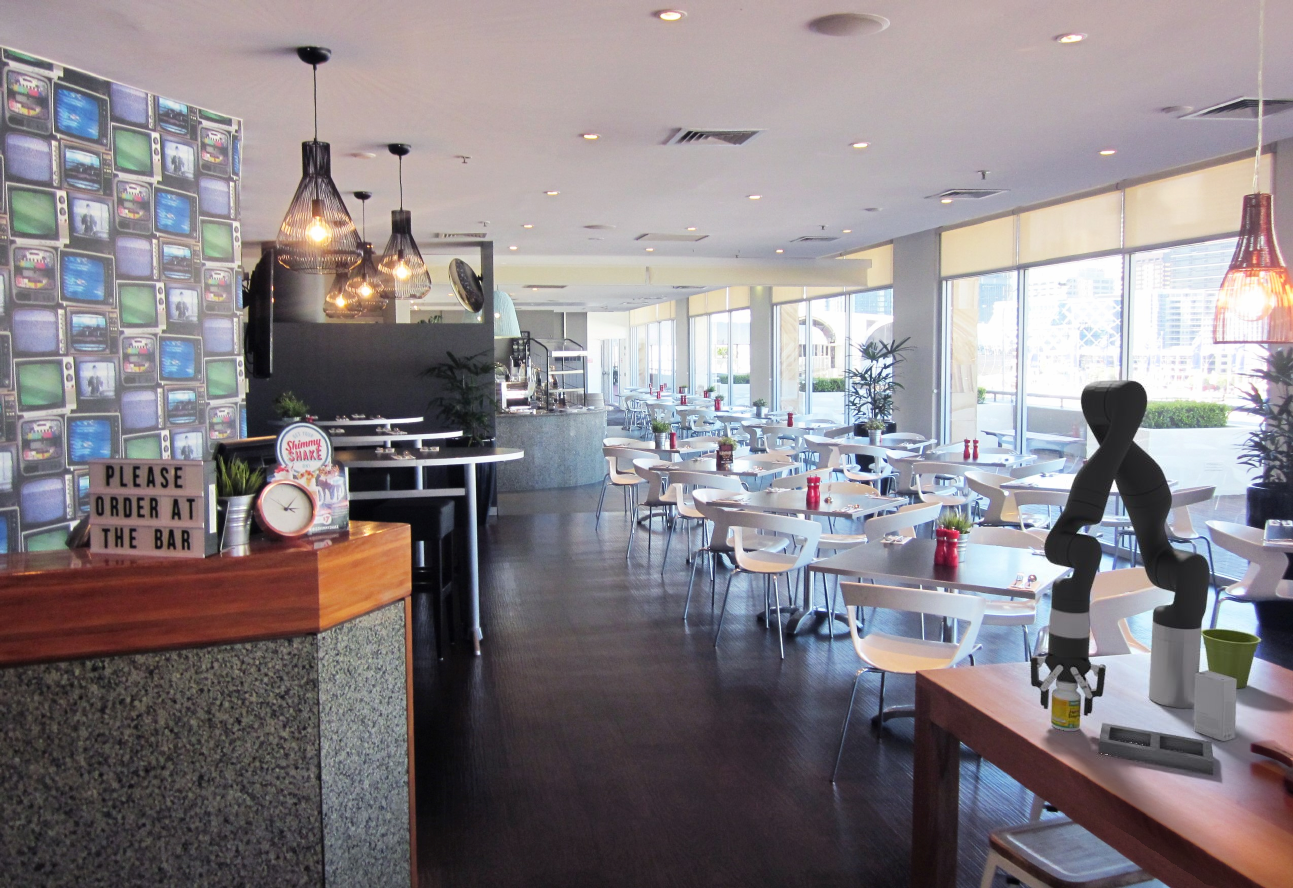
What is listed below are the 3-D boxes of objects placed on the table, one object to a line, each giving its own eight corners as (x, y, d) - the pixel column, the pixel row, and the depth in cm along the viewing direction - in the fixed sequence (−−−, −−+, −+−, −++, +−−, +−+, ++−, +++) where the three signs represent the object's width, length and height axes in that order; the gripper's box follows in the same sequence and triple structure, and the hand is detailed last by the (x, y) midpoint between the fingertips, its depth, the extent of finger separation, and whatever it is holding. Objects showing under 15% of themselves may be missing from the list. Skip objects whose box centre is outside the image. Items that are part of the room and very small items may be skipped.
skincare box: (1236, 738, 183) (1239, 678, 182) (1221, 742, 181) (1225, 681, 180) (1205, 727, 188) (1208, 668, 187) (1191, 731, 186) (1194, 672, 185)
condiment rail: (1101, 734, 184) (1102, 722, 184) (1210, 754, 175) (1211, 741, 175) (1098, 753, 176) (1098, 740, 176) (1212, 774, 167) (1213, 761, 167)
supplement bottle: (1060, 719, 192) (1062, 674, 191) (1085, 728, 188) (1087, 681, 187) (1045, 725, 189) (1047, 679, 188) (1069, 734, 185) (1071, 687, 184)
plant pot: (1262, 682, 215) (1265, 634, 214) (1253, 696, 206) (1256, 646, 205) (1203, 670, 222) (1205, 624, 221) (1192, 684, 213) (1195, 636, 212)
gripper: (1110, 631, 187) (1106, 711, 188) (1033, 621, 194) (1030, 698, 195) (1108, 641, 180) (1104, 724, 182) (1028, 630, 187) (1025, 710, 189)
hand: (1065, 710), depth 188 cm, fingers open, 7 cm apart
